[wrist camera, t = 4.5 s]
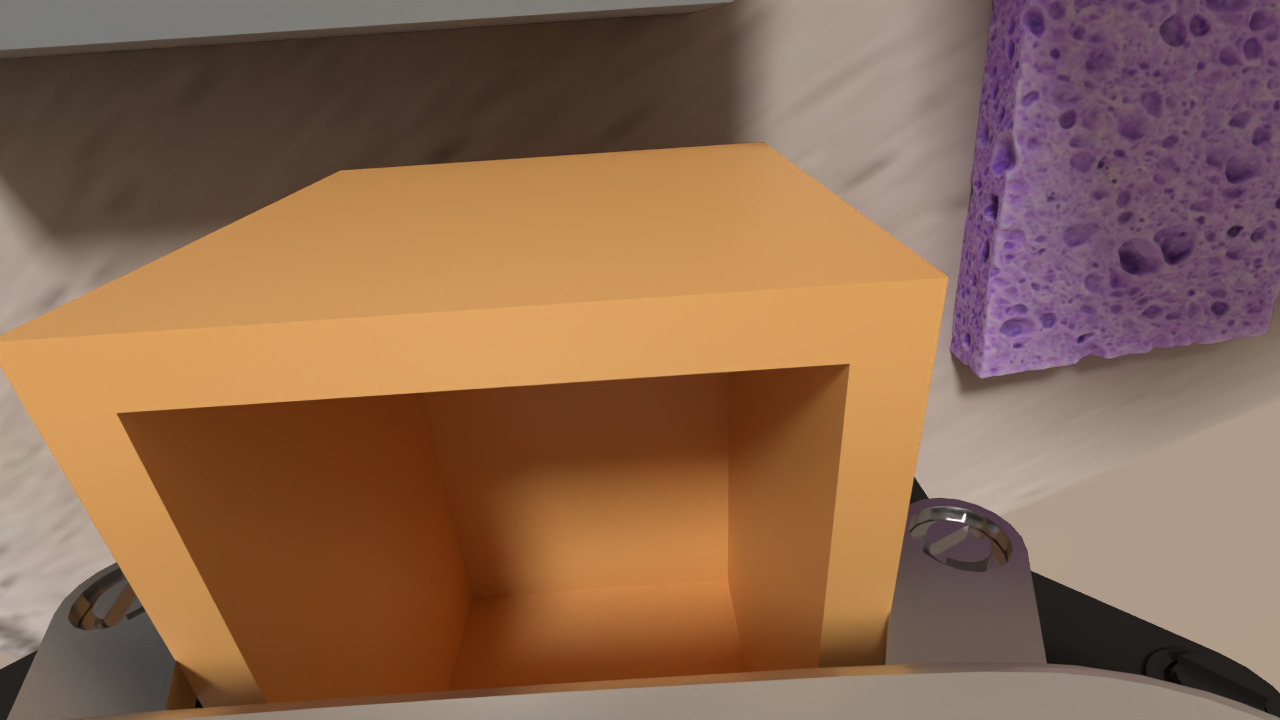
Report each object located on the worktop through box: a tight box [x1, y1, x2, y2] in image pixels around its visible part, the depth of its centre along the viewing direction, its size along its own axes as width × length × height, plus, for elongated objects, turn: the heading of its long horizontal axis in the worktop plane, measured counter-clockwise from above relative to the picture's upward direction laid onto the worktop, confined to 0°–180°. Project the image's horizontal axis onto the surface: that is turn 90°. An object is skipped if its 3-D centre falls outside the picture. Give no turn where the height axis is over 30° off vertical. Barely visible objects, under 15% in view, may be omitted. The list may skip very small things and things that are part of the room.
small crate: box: [0, 142, 948, 708], centre depth 9 cm, size 6×9×6 cm
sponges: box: [950, 0, 1280, 378], centre depth 13 cm, size 7×13×2 cm, turn 7°
